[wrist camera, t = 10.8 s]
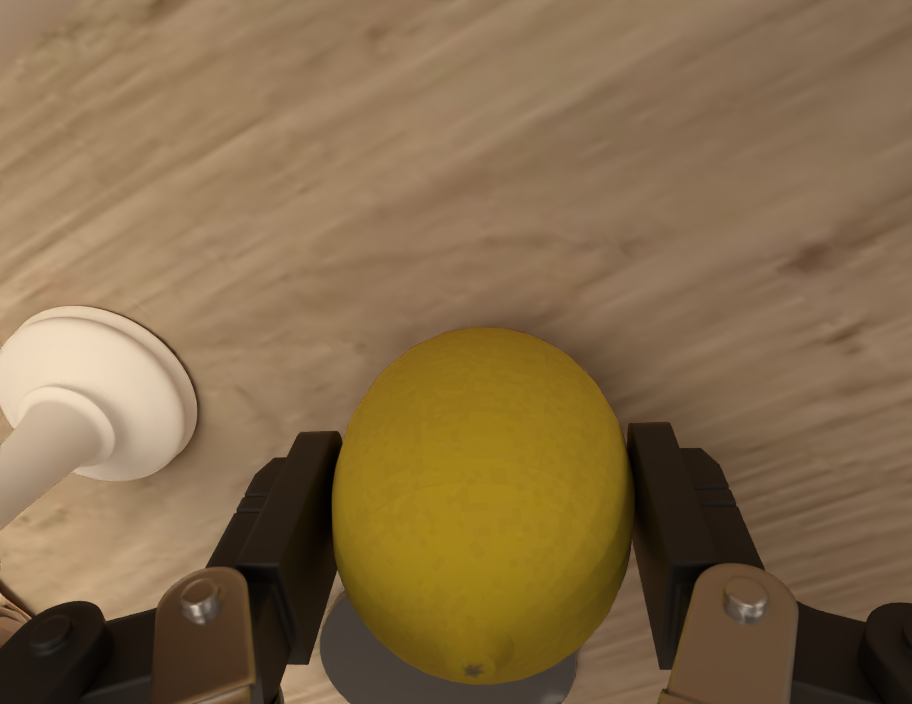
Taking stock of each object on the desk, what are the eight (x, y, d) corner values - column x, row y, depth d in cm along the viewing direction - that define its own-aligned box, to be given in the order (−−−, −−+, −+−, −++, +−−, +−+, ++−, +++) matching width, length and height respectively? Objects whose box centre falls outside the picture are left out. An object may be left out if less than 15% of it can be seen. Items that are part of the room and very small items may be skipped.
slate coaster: (299, 560, 20) (296, 570, 19) (575, 558, 19) (576, 569, 18) (345, 727, 23) (342, 739, 23) (576, 732, 22) (577, 744, 22)
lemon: (508, 500, 18) (505, 827, 11) (335, 390, 17) (205, 679, 10) (655, 360, 16) (771, 663, 9) (466, 220, 14) (420, 440, 7)
